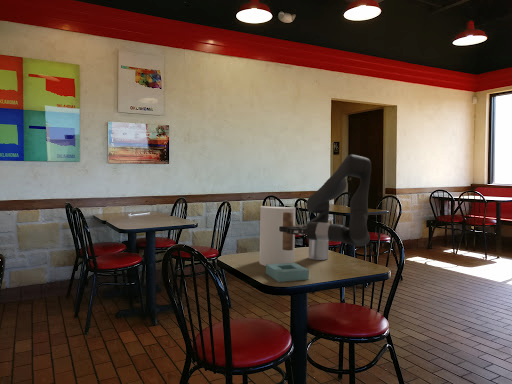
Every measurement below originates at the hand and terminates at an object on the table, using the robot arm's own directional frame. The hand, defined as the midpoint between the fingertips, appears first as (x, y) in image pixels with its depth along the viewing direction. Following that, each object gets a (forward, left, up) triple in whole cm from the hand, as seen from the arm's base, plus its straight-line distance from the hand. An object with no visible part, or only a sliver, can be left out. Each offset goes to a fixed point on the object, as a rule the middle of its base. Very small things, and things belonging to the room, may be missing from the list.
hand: (282, 228), depth 172 cm
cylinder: (-7, -22, -21) cm, 32 cm away
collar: (-2, +2, -21) cm, 21 cm away
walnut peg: (-2, +2, -9) cm, 9 cm away
